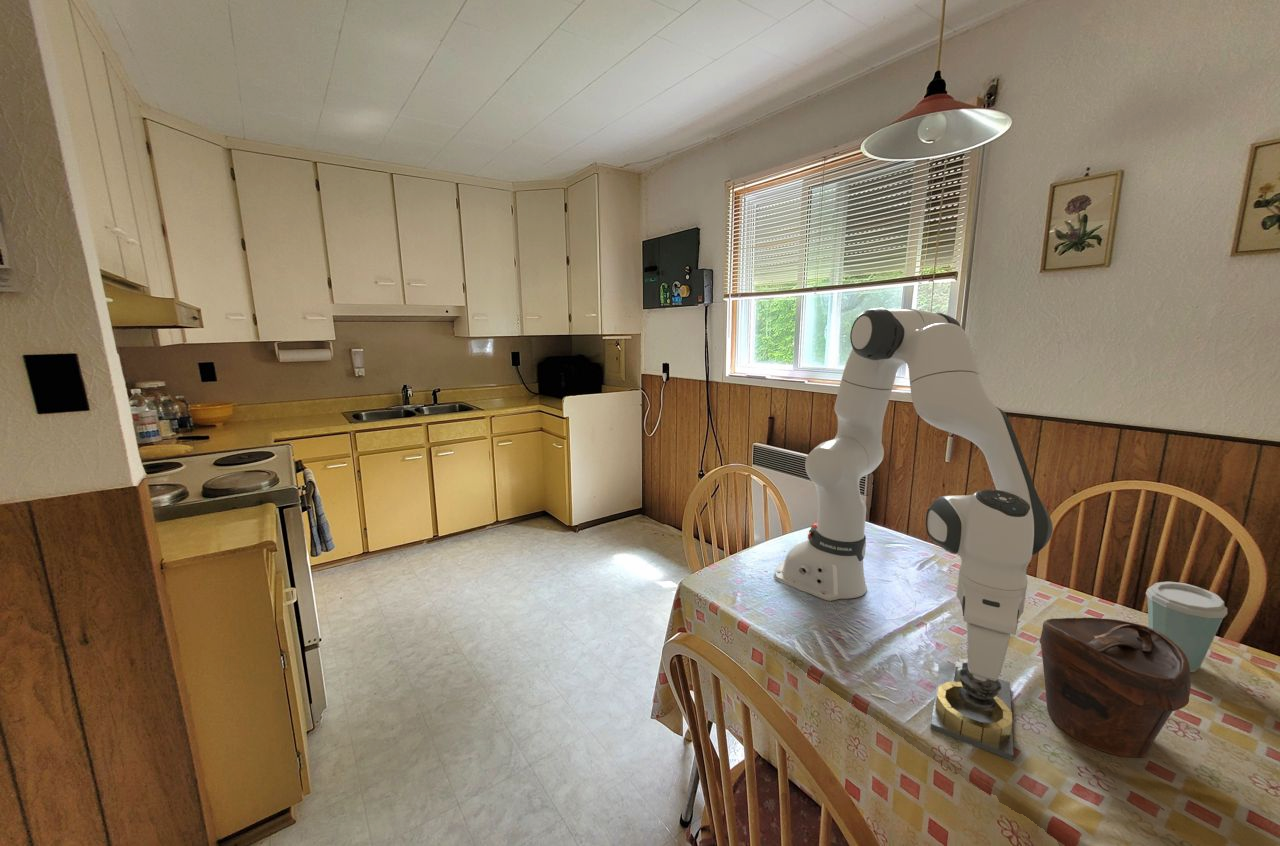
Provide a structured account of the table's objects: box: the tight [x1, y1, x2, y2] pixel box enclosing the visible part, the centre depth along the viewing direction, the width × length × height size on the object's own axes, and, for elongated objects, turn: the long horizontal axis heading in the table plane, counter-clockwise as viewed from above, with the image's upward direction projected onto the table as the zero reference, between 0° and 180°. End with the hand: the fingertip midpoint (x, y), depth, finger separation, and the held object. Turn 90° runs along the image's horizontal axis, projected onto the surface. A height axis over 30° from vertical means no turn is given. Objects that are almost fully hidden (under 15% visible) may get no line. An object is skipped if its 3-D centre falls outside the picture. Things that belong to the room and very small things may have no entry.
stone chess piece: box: [959, 668, 1001, 710], centre depth 81 cm, size 6×6×12 cm
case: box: [1038, 617, 1192, 758], centre depth 81 cm, size 18×20×18 cm
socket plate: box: [930, 658, 1015, 762], centre depth 87 cm, size 11×19×4 cm, turn 145°
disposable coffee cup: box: [1145, 581, 1228, 673], centre depth 96 cm, size 11×11×15 cm
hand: (979, 669), depth 82 cm, fingers closed on stone chess piece, 3 cm apart
